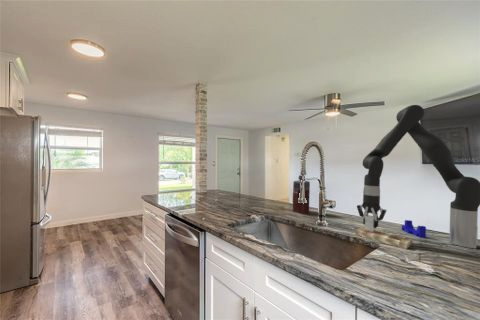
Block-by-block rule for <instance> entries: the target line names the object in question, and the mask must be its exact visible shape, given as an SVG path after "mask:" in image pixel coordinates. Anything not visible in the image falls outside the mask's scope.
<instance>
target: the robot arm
mask: <svg viewBox="0 0 480 320" xmlns="http://www.w3.org/2000/svg"><path fill="white" fill-rule="evenodd" d="M424 116H425V110H424V107H422V106H421V105H419V104H411V105H409V106H406V107H404V108H403V109H401V110H400V111H398V112H397V114H396V118H395V119H396V121H397V123H396V125H395V126H394V127H393V128H392V129H391V130H390V131H389V132H388V133H386V135H385V136H383V137H382V139H381V140H380V141H379V143H378V144H377V145H376V146H375V148H373V150H371V151H370V152H369V153H368V154H367V155H366V156H365V157H364V158H363V160H362V167H364V169H367V170H368V172H367V174H365V175H364V177H363V178H364V179H363V180H364V181H363V184H364V185H363V189H362V190H363V191H362V193H363V196H362V197H363V198H362V204H358V205H356V209H357V213H358V215H359V217H362V219H363V222H362V224H363V225H364V226H365V216H367V215H369V214H370V215H371V214H372V216H374V220H375V221H374V228H376V229H377V228H378V227H379V222H380V221H382V220H383V219H384V217H385V215H386V213H387V209H384V208H382V207H381V205H380V204H381V188H380V187H381V185H380V184H381V176H382V173H383V170H384V160H383V158H385V157H387V156H389V155H390V154H391V153H392V151H393V150H394V149H395V148H396V146H397V145H398V143H400V141H401V140H402V139H403V138H404V136H406V134H408V135H409V136H410V137H411V139H412V140H413V142H415V143H416V144H417V146H418V147H419V149H420V151H422V153H423V154H424V156H425V157H426V159H428V161H429V162H430V163H431V164H432V166H433V167H434V168H435V169H436V170H437V172H438V173H439V174H440V176H441V178H442V179H443V181H444V183H445V184H446V187H447V188H448V189H449V190H450V191H451V192H452V193H454V194H455V197H454V200H452V201H451V202H450V204H449V205H450V206H449V236H448V240H449V243H451V244H453V245H456V246H460V247H464V248H469V249H470V248H471V249H475V250H476V249H477V247H478V228H479V226H478V217H479V216H478V215H479V213H478V212H479V211H478V210H479V207H480V181H479V180H478V179H477V178H475V177H472V176H465V175H464V174H463V173H462V172H461V171H460V170H459V169H458V168H457V166H456V165H455V162H454V159H453V155H452V152H451V149H450V148H449V147H448V146H447V144H446V143H445V142H444V141H443V140H442V138H440V137H439V136H437V135H435V134H433V133H431V131H429V130H427V129H425V128H424V127H423V125H422V124H421V122H420V121H421V120H422V119H423V118H424ZM363 211H364V212H363ZM379 211H380V214H379V213H378V212H379Z"/></svg>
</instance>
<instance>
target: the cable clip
mask: <svg viewBox="0 0 480 320" xmlns="http://www.w3.org/2000/svg"><path fill="white" fill-rule="evenodd" d="M401 231H403V232H404V233H407V234H411V235H413V236H415V237H418V238H422V239H426V237H427V236H426V235H427V234H426V233H427V226H424V225H417V228H414V224H413V221H412V220H410V219H409V220H407V219H405V220H404V224H401Z"/></svg>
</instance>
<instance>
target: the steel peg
mask: <svg viewBox="0 0 480 320" xmlns="http://www.w3.org/2000/svg"><path fill="white" fill-rule="evenodd" d="M374 221H375V220H374V216H373V215H371V214H370V215H369V214H368V215H367V216H365V225H364V227H365V231H367V232H371V233H376V230H377V228H374Z"/></svg>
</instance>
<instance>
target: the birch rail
mask: <svg viewBox="0 0 480 320" xmlns="http://www.w3.org/2000/svg"><path fill="white" fill-rule="evenodd" d="M354 232H355V233H354V234H355V235H356V236H357V237H361V236H362V238H364V239H369V240H372V241H376V242H379V243H383V244H387V245H390V246H393V247H398V248H400V249H404V250H407V249H408V248H410V247H411V246H412V245H413V238H410V237H406V236H403V235H397V234H394V233H391V232H386V231H381V230H378V229H376V233H371V232H367V231H365V226H362V227H359V228H357V229H355V231H354Z"/></svg>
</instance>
